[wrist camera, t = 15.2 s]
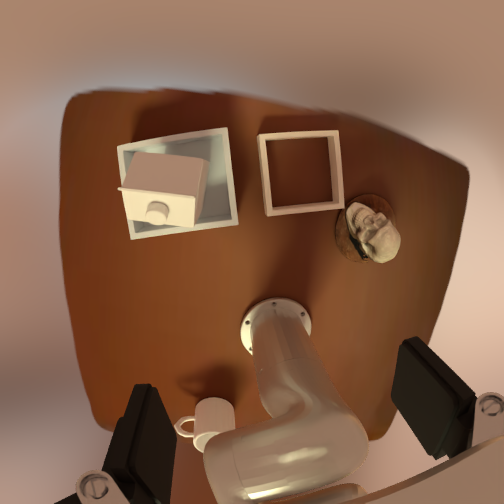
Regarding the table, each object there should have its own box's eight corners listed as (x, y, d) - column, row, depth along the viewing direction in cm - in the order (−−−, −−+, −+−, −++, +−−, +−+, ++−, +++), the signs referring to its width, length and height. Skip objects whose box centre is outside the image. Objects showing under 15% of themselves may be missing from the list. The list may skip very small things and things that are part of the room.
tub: (236, 217, 46) (238, 224, 41) (141, 230, 45) (131, 239, 40) (226, 132, 43) (227, 127, 37) (129, 148, 42) (117, 146, 36)
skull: (317, 226, 47) (371, 206, 39) (339, 195, 53) (385, 175, 45) (354, 281, 50) (406, 270, 42) (370, 246, 56) (416, 232, 48)
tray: (337, 205, 47) (344, 208, 44) (264, 213, 47) (267, 216, 44) (331, 132, 44) (338, 130, 41) (256, 136, 43) (259, 134, 40)
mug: (180, 389, 55) (175, 424, 45) (237, 400, 57) (241, 435, 47) (175, 414, 57) (170, 448, 47) (228, 424, 58) (230, 457, 49)
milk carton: (163, 156, 42) (122, 149, 24) (210, 161, 43) (200, 157, 25) (157, 202, 44) (114, 227, 25) (203, 208, 45) (189, 237, 26)
